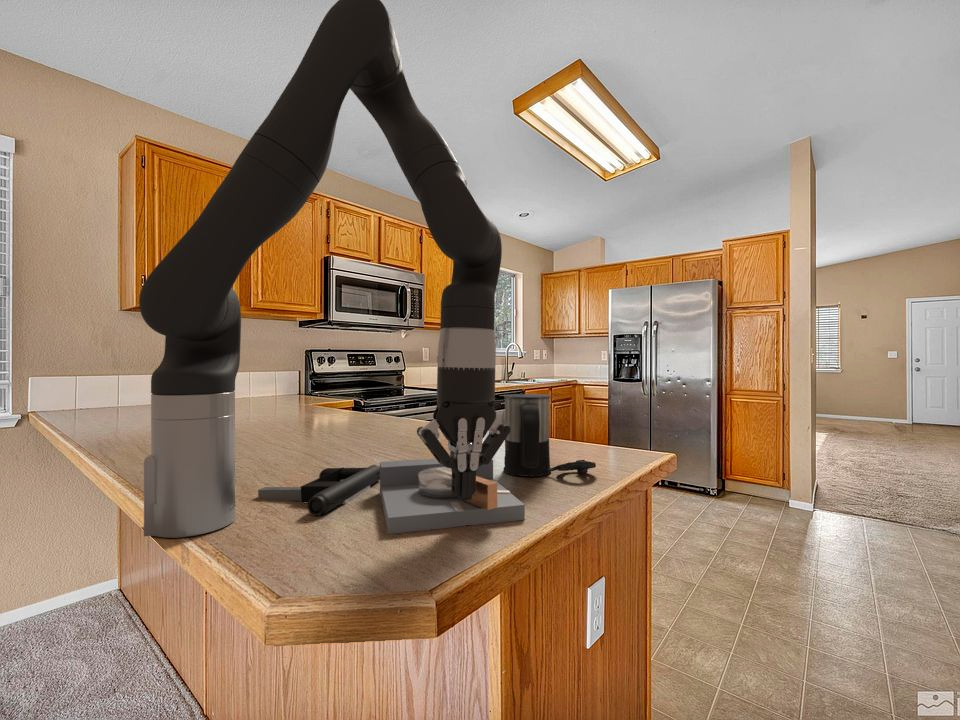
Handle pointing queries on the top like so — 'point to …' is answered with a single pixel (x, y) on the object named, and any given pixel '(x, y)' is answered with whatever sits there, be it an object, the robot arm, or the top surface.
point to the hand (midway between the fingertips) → (463, 498)
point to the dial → (440, 483)
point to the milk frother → (531, 437)
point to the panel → (437, 500)
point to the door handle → (327, 488)
